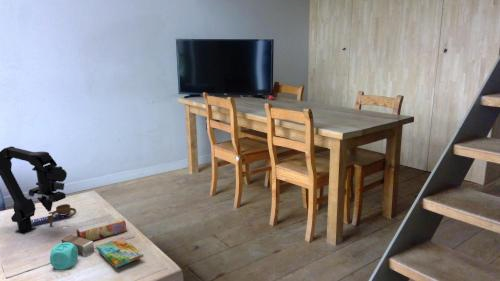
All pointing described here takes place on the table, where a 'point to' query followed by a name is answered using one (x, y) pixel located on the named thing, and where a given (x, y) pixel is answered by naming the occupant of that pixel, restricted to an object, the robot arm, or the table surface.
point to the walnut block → (80, 244)
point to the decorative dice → (64, 256)
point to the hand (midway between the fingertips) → (49, 211)
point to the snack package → (102, 229)
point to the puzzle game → (119, 252)
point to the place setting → (61, 212)
